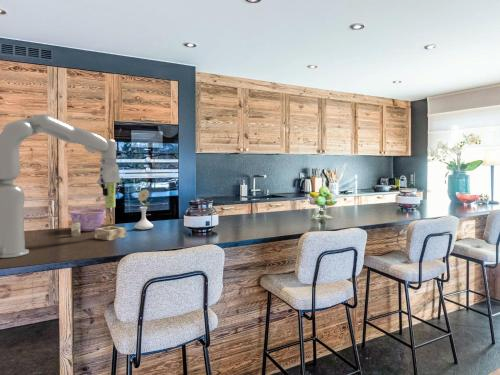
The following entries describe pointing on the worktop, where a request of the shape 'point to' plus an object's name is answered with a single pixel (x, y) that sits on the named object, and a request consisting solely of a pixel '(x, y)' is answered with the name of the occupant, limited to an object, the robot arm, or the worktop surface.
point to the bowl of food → (88, 218)
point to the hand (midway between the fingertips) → (109, 194)
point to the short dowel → (75, 229)
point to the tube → (110, 195)
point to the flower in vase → (143, 212)
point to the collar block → (110, 233)
